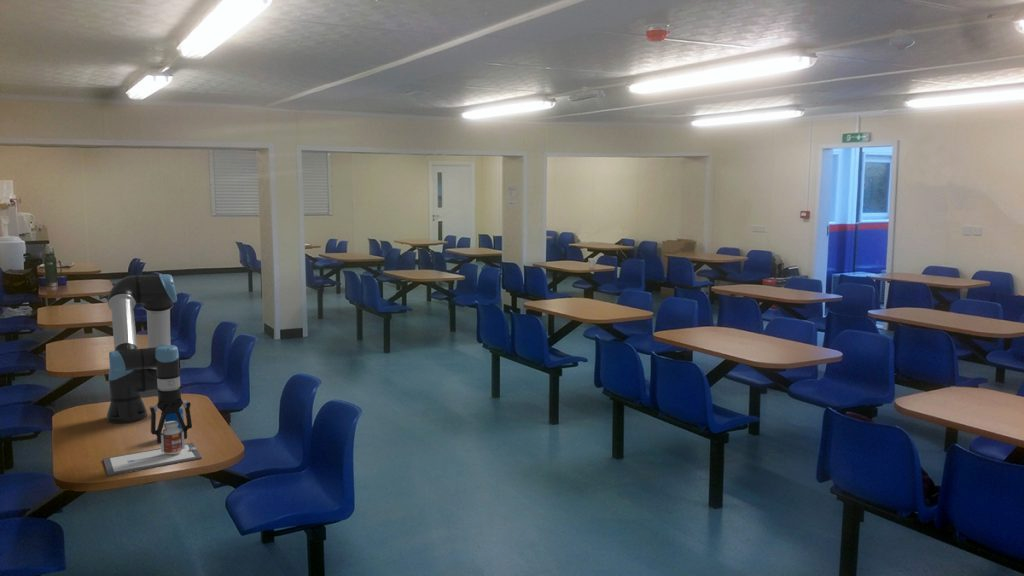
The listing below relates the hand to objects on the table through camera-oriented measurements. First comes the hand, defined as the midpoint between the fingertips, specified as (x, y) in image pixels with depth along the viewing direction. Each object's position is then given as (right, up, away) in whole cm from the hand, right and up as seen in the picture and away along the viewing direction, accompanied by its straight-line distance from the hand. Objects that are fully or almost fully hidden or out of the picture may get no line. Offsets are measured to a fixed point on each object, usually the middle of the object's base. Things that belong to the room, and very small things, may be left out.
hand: (172, 449), depth 270 cm
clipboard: (-6, -3, -4) cm, 7 cm away
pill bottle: (0, -1, 0) cm, 1 cm away
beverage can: (-8, 0, +20) cm, 21 cm away
